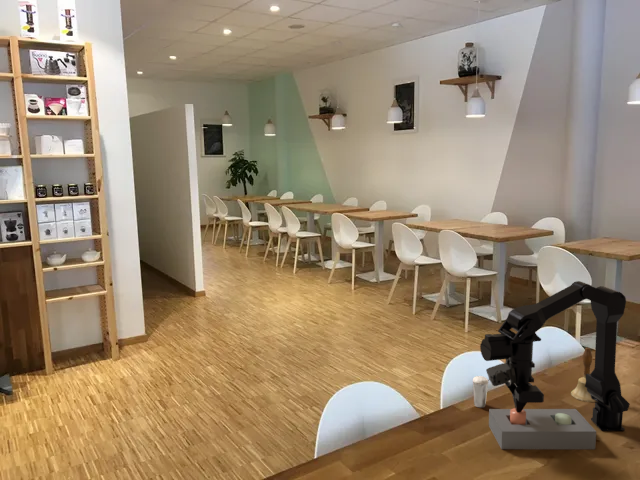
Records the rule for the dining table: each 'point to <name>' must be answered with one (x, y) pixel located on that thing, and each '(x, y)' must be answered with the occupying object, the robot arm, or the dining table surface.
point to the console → (542, 430)
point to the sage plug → (562, 419)
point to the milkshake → (480, 391)
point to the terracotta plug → (517, 417)
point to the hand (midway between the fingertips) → (518, 411)
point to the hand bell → (584, 379)
